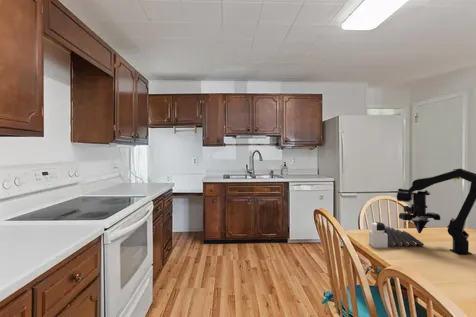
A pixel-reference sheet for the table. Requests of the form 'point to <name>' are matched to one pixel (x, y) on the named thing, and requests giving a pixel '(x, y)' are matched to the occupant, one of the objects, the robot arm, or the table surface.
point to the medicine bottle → (378, 236)
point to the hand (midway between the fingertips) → (419, 232)
